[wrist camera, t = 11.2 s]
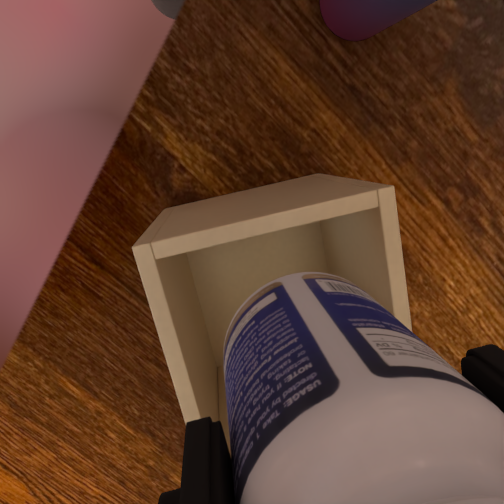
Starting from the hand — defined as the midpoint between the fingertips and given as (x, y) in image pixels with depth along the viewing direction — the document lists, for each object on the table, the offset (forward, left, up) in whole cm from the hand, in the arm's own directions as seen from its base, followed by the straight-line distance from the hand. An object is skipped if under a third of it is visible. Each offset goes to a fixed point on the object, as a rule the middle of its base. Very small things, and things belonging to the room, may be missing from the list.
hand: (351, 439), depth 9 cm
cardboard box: (+3, -1, -21) cm, 21 cm away
